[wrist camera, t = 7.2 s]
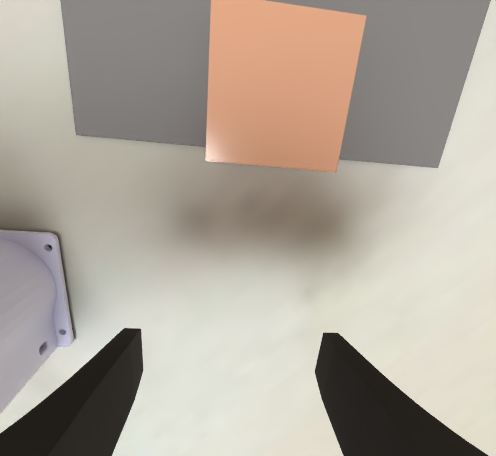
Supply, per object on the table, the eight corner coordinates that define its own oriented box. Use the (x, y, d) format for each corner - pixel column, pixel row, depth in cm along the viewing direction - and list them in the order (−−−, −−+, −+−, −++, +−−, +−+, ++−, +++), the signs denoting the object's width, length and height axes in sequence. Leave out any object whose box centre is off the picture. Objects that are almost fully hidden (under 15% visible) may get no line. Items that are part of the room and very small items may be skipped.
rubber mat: (434, 167, 18) (437, 168, 18) (78, 135, 16) (76, 135, 15) (501, -49, 14) (507, -53, 14) (48, -134, 12) (44, -141, 12)
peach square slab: (336, 172, 15) (366, 15, 13) (205, 160, 15) (211, -8, 12) (326, 169, 17) (351, 30, 15) (207, 159, 16) (213, 10, 14)
